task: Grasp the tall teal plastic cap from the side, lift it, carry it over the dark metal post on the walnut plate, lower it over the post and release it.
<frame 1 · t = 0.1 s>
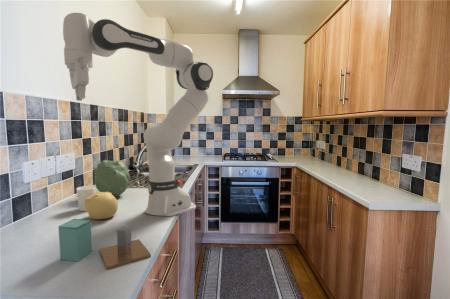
hand: (80, 99, 93), 48 cm above the countertop, tool pointing down, fingers open, 8 cm apart
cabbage: (112, 196, 137), on the countertop
white cup: (87, 209, 117), on the countertop
sculpture: (102, 217, 107), on the countertop
post: (124, 253, 77), on the countertop
cap: (76, 255, 76), on the countertop
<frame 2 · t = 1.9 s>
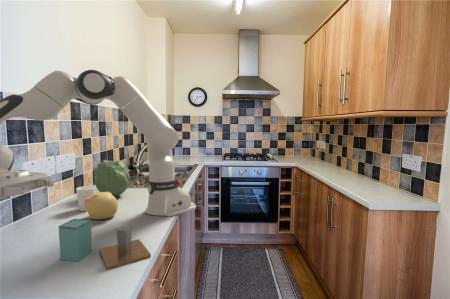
hand: (38, 187, 76), 20 cm above the countertop, tool horizontal, fingers open, 8 cm apart
nothing on the countertop moved.
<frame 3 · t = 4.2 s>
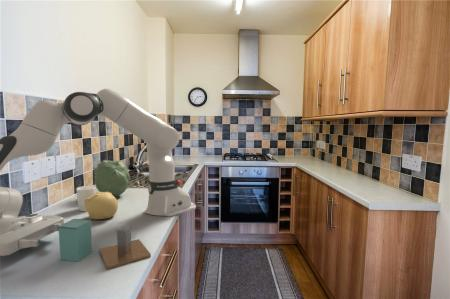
hand: (52, 235, 77), 5 cm above the countertop, tool horizontal, fingers open, 8 cm apart
nothing on the countertop moved.
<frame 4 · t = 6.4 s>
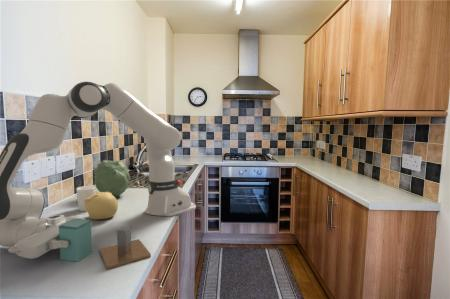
hand: (78, 237, 75), 6 cm above the countertop, tool horizontal, fingers closed on cap, 6 cm apart
cap: (76, 255, 76), on the countertop, touching gripper
everything else where it was.
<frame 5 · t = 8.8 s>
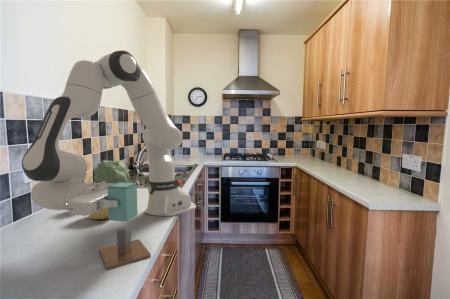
hand: (125, 199, 75), 17 cm above the countertop, tool horizontal, fingers closed on cap, 6 cm apart
cap: (123, 217, 76), point 11 cm above the countertop, touching gripper
everything else where it was.
when the fingers open (7 cm above the countertop, at t = 11.6 s): cap stays where it is, resting on post.
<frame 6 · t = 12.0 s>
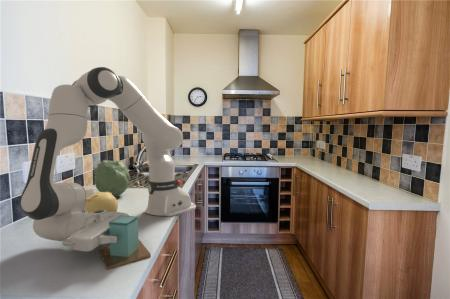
hand: (126, 231, 76), 7 cm above the countertop, tool horizontal, fingers open, 8 cm apart
cap: (124, 251, 77), point 1 cm above the countertop, touching post
everything else where it was.
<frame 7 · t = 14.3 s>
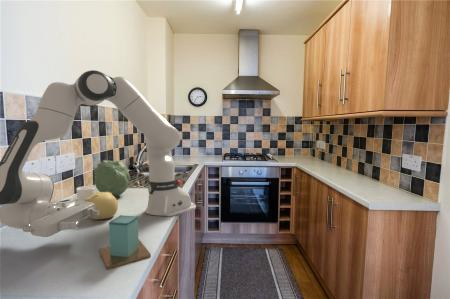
hand: (88, 219, 79), 10 cm above the countertop, tool horizontal, fingers open, 8 cm apart
nothing on the countertop moved.
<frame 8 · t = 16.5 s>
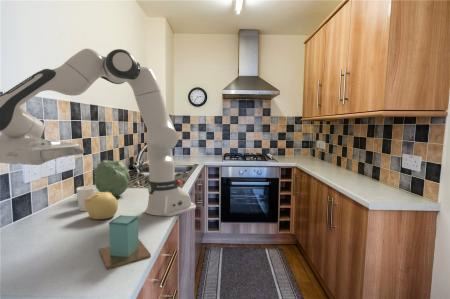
hand: (71, 152, 81), 30 cm above the countertop, tool horizontal, fingers open, 8 cm apart
nothing on the countertop moved.
at the end: cap 0.1 cm from the post (horizontally); cap point 0.8 cm above the countertop; the gripper is holding nothing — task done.
